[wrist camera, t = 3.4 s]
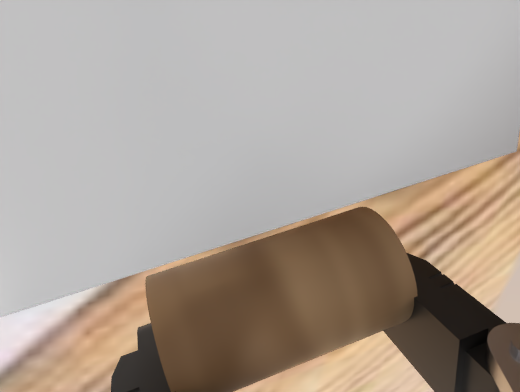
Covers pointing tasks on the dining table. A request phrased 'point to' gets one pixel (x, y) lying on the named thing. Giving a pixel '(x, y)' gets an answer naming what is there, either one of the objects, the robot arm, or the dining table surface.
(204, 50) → the slab
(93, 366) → the dining table surface
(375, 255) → the roller
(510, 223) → the dining table surface
